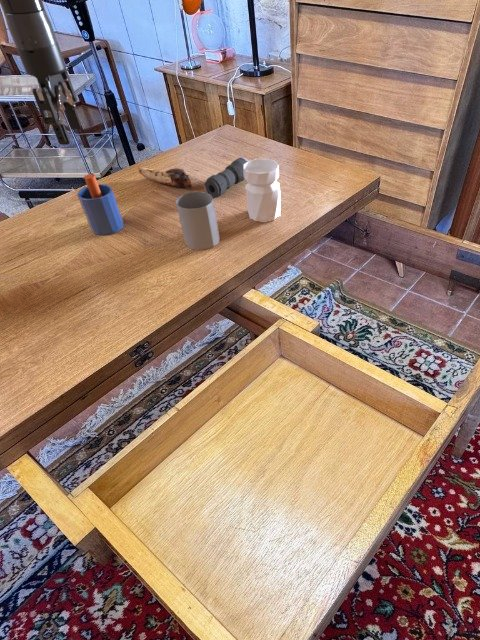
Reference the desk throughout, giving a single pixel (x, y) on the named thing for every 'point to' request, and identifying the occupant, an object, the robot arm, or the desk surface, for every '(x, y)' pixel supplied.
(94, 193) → the handle
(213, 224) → the cup
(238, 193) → the desk surface
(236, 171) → the flashlight
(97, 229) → the blue cup
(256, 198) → the vase
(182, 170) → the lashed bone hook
